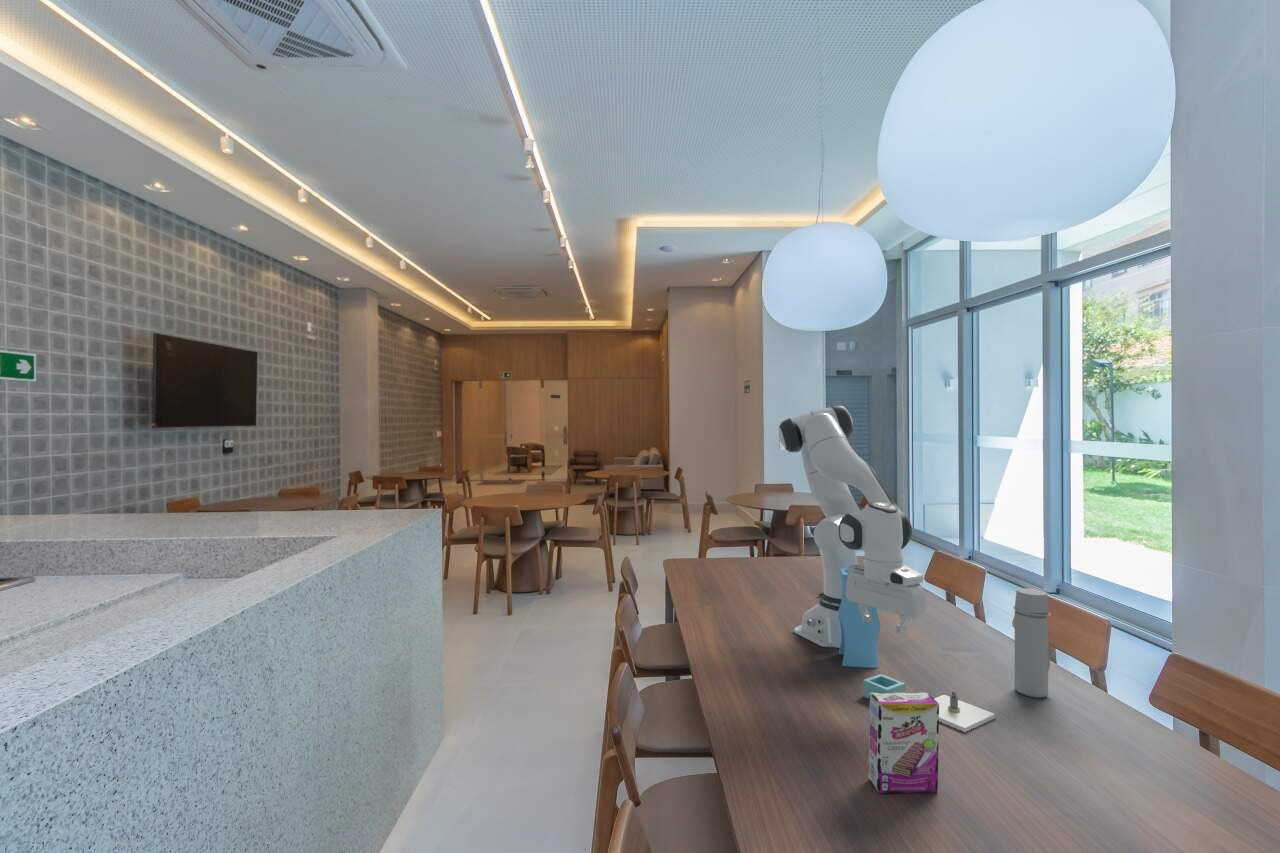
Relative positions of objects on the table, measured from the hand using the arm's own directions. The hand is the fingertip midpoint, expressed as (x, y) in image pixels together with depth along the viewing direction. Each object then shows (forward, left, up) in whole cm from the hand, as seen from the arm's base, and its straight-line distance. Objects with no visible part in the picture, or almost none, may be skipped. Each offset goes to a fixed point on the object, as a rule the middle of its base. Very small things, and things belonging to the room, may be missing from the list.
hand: (883, 627), depth 150 cm
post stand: (+14, +6, -17) cm, 23 cm away
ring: (0, 0, -17) cm, 17 cm away
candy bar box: (+25, -29, -17) cm, 42 cm away
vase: (-19, +15, -17) cm, 30 cm away
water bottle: (+18, +34, -17) cm, 42 cm away
